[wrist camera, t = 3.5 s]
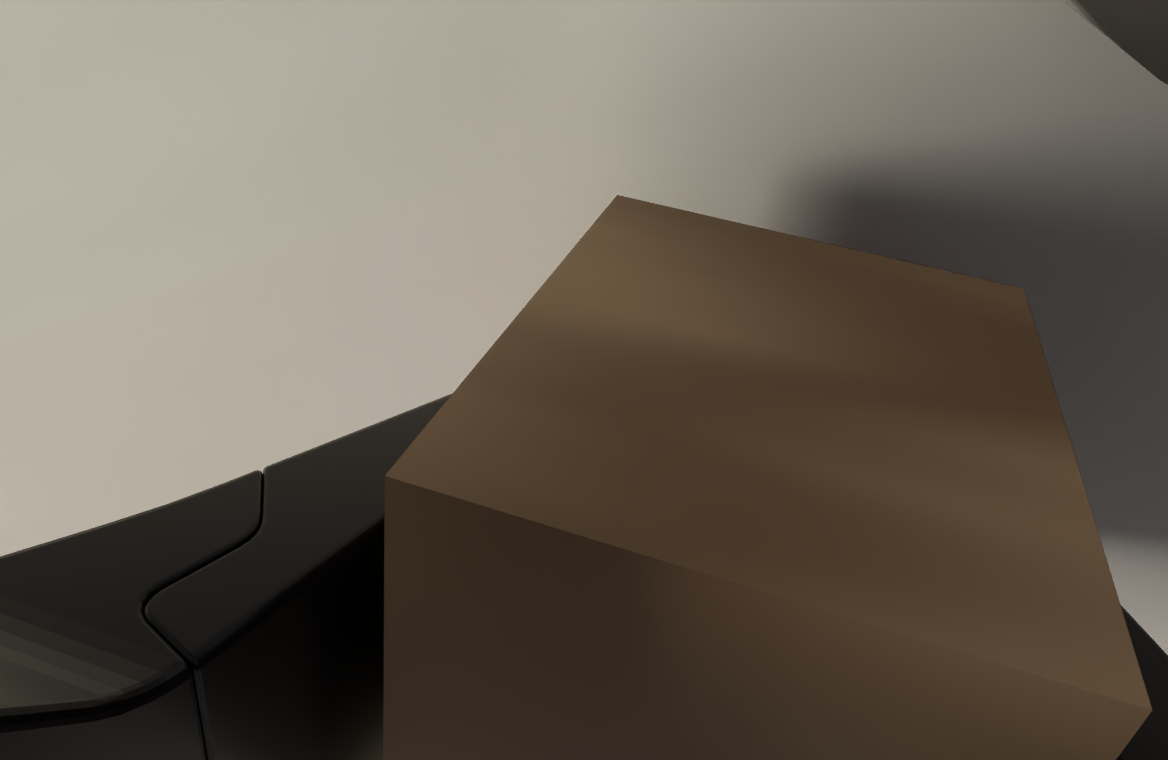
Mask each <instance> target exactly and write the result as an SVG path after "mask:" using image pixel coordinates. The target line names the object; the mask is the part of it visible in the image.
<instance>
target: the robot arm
mask: <svg viewBox="0 0 1168 760" xmlns="http://www.w3.org/2000/svg"><path fill="white" fill-rule="evenodd" d="M451 395H452V394H450V395H447V396H445V397H442V398H440V399H437V400H435V401H432V402H430V403H427V404H425V405H422V406H419V407H417V408H414V409H412V410H409V411H407V412H404V413H402V414H399V415H397V416H394V417H392V418H389V419H386V420H384V421H381V422H379V423H376V424H374V425H371V426H369V427H366V428H364V429H361V430H359V431H356V432H353V433H351V434H348V435H346V436H343V437H341V438H338V439H336V440H333V441H331V442H328V443H325V444H323V445H320V446H318V447H315V448H313V449H310V450H308V451H305V452H303V453H300V454H297V455H295V456H292V457H290V458H287V459H285V460H282V461H280V462H277V463H275V464H272V465H269V466H267V467H265V468H264V470H263V474H262V472H261V471H258V470H257V471H254V472H251V473H249V474H246V475H243V476H241V477H238V478H236V479H233V480H231V481H228V482H226V483H223V484H220V485H218V486H215V487H212V488H210V489H207V490H204V491H202V492H199V493H196V494H193V495H191V496H188V497H185V498H183V499H180V500H177V501H174V502H172V503H169V504H166V505H163V506H160V507H157V508H154V509H151V510H148V511H145V512H142V513H139V514H136V515H133V516H129V517H126V518H123V519H120V520H117V521H114V522H111V523H108V524H105V525H102V526H99V527H95V528H92V529H89V530H86V531H82V532H79V533H76V534H73V535H69V536H66V537H63V538H60V539H56V540H53V541H50V542H47V543H43V544H40V545H37V546H34V547H30V548H27V549H24V550H21V551H17V552H14V553H11V554H8V555H4V556H1V557H0V760H383V703H384V520H385V475H386V474H387V472H388V471H389V470H390V469H391V468H392V466H393V465H394V464H395V463H396V462H397V460H398V459H399V458H400V457H401V456H402V454H403V453H404V452H405V451H406V450H407V448H408V447H409V446H410V445H411V443H412V442H413V441H414V440H415V439H416V437H417V436H418V435H419V434H420V433H421V431H422V430H423V429H424V428H425V427H426V425H427V424H428V423H429V422H430V421H431V419H432V418H433V417H434V416H435V415H436V413H437V412H438V411H439V410H440V408H441V407H442V406H443V405H444V404H445V402H446V401H447V400H448V399H449V398H450V396H451ZM1120 606H1121V605H1120ZM1121 609H1122V612H1123V615H1124V619H1125V622H1126V625H1127V629H1128V632H1129V635H1130V638H1131V642H1132V645H1133V648H1134V651H1135V655H1136V658H1137V661H1138V665H1139V668H1140V671H1141V674H1142V678H1143V681H1144V684H1145V688H1146V691H1147V694H1148V697H1149V701H1150V704H1151V707H1152V712H1151V713H1150V714H1149V716H1148V717H1147V718H1146V720H1145V721H1144V722H1143V724H1142V725H1141V726H1140V728H1139V729H1138V731H1137V732H1136V733H1135V735H1134V736H1133V737H1132V739H1131V740H1130V741H1129V743H1128V744H1127V745H1126V747H1125V748H1124V750H1123V751H1122V752H1121V754H1120V755H1119V756H1118V758H1117V759H1116V760H1168V655H1167V654H1166V653H1165V652H1164V651H1163V650H1162V649H1161V648H1160V647H1159V645H1158V644H1157V643H1156V642H1155V641H1154V640H1153V639H1152V638H1151V637H1150V636H1149V635H1148V634H1147V633H1146V632H1145V630H1144V629H1143V628H1142V627H1141V626H1140V625H1139V624H1138V623H1137V622H1136V621H1135V620H1134V619H1133V618H1132V616H1131V615H1130V614H1129V613H1128V612H1127V611H1126V610H1125V609H1124V608H1123V607H1122V606H1121Z"/></svg>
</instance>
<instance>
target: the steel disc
mask: <svg viewBox="0 0 1168 760" xmlns="http://www.w3.org/2000/svg"><path fill="white" fill-rule="evenodd" d="M1063 1H1064V2H1065V3H1067V4H1068V5H1069V6H1070V7H1071V8H1073V9H1074V10H1075V11H1076V12H1077V13H1078V14H1080V15H1081V16H1082V17H1083V18H1084V19H1086V20H1087V21H1088V22H1089V23H1091V24H1092V25H1093V26H1094V27H1096V28H1097V29H1098V30H1099V31H1100V32H1102V33H1103V34H1104V35H1105V36H1107V37H1108V38H1109V39H1110V40H1112V41H1113V42H1114V43H1115V44H1116V45H1118V46H1119V47H1120V48H1121V49H1123V50H1124V51H1125V52H1126V53H1128V54H1129V55H1130V56H1131V57H1132V58H1134V59H1135V60H1136V61H1137V62H1139V63H1140V64H1141V65H1142V66H1144V67H1145V68H1146V69H1147V70H1148V71H1150V72H1151V73H1152V74H1153V75H1155V76H1156V77H1157V78H1158V79H1160V80H1161V81H1163V82H1164V83H1166V84H1168V0H1063Z"/></svg>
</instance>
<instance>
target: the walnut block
mask: <svg viewBox="0 0 1168 760" xmlns="http://www.w3.org/2000/svg"><path fill="white" fill-rule="evenodd" d="M1151 712H1152V707H1151V704H1150V701H1149V697H1148V694H1147V691H1146V688H1145V684H1144V681H1143V678H1142V674H1141V671H1140V668H1139V665H1138V661H1137V658H1136V655H1135V651H1134V648H1133V645H1132V642H1131V638H1130V635H1129V632H1128V629H1127V625H1126V622H1125V619H1124V615H1123V612H1122V609H1121V606H1120V602H1119V599H1118V596H1117V592H1116V589H1115V586H1114V583H1113V579H1112V576H1111V573H1110V570H1109V566H1108V563H1107V560H1106V556H1105V553H1104V550H1103V547H1102V543H1101V540H1100V537H1099V533H1098V530H1097V527H1096V524H1095V520H1094V517H1093V514H1092V511H1091V507H1090V504H1089V501H1088V497H1087V494H1086V491H1085V488H1084V484H1083V481H1082V478H1081V474H1080V471H1079V468H1078V465H1077V461H1076V458H1075V455H1074V452H1073V448H1072V445H1071V442H1070V438H1069V435H1068V432H1067V429H1066V425H1065V422H1064V419H1063V415H1062V412H1061V409H1060V406H1059V402H1058V399H1057V396H1056V393H1055V389H1054V386H1053V383H1052V379H1051V376H1050V373H1049V370H1048V366H1047V363H1046V360H1045V356H1044V353H1043V350H1042V347H1041V343H1040V340H1039V337H1038V334H1037V330H1036V327H1035V324H1034V320H1033V317H1032V314H1031V311H1030V307H1029V304H1028V301H1027V297H1026V294H1025V291H1024V288H1019V287H1015V286H1011V285H1006V284H1002V283H997V282H993V281H989V280H984V279H980V278H976V277H971V276H967V275H963V274H958V273H954V272H950V271H945V270H941V269H937V268H932V267H928V266H924V265H919V264H915V263H910V262H906V261H902V260H897V259H893V258H889V257H884V256H880V255H876V254H871V253H867V252H863V251H858V250H854V249H850V248H845V247H841V246H836V245H832V244H828V243H823V242H819V241H815V240H810V239H806V238H802V237H797V236H793V235H789V234H784V233H780V232H776V231H771V230H767V229H763V228H758V227H754V226H749V225H745V224H741V223H736V222H732V221H728V220H723V219H719V218H715V217H710V216H706V215H702V214H697V213H693V212H689V211H684V210H680V209H676V208H671V207H667V206H662V205H658V204H654V203H649V202H645V201H641V200H636V199H632V198H628V197H623V196H619V195H617V196H616V197H615V198H614V200H613V201H612V202H611V203H610V204H609V206H608V207H607V208H606V209H605V211H604V212H603V213H602V214H601V215H600V217H599V218H598V219H597V220H596V221H595V223H594V224H593V225H592V226H591V227H590V229H589V230H588V231H587V232H586V233H585V235H584V236H583V237H582V238H581V239H580V241H579V242H578V243H577V244H576V246H575V247H574V248H573V249H572V250H571V252H570V253H569V254H568V255H567V256H566V258H565V259H564V260H563V261H562V262H561V264H560V265H559V266H558V267H557V268H556V270H555V271H554V272H553V273H552V274H551V276H550V277H549V278H548V279H547V281H546V282H545V283H544V284H543V285H542V287H541V288H540V289H539V290H538V291H537V293H536V294H535V295H534V296H533V297H532V299H531V300H530V301H529V302H528V303H527V305H526V306H525V307H524V308H523V309H522V311H521V312H520V313H519V314H518V316H517V317H516V318H515V319H514V320H513V322H512V323H511V324H510V325H509V326H508V328H507V329H506V330H505V331H504V332H503V334H502V335H501V336H500V337H499V338H498V340H497V341H496V342H495V343H494V345H493V346H492V347H491V348H490V349H489V351H488V352H487V353H486V354H485V355H484V357H483V358H482V359H481V360H480V361H479V363H478V364H477V365H476V366H475V367H474V369H473V370H472V371H471V372H470V373H469V375H468V376H467V377H466V378H465V380H464V381H463V382H462V383H461V384H460V386H459V387H458V388H457V389H456V390H455V392H454V393H453V394H452V395H451V396H450V398H449V399H448V400H447V401H446V402H445V404H444V405H443V406H442V407H441V408H440V410H439V411H438V412H437V413H436V415H435V416H434V417H433V418H432V419H431V421H430V422H429V423H428V424H427V425H426V427H425V428H424V429H423V430H422V431H421V433H420V434H419V435H418V436H417V437H416V439H415V440H414V441H413V442H412V443H411V445H410V446H409V447H408V448H407V450H406V451H405V452H404V453H403V454H402V456H401V457H400V458H399V459H398V460H397V462H396V463H395V464H394V465H393V466H392V468H391V469H390V470H389V471H388V472H387V474H386V475H385V520H384V703H383V760H1116V759H1117V758H1118V756H1119V755H1120V754H1121V752H1122V751H1123V750H1124V748H1125V747H1126V745H1127V744H1128V743H1129V741H1130V740H1131V739H1132V737H1133V736H1134V735H1135V733H1136V732H1137V731H1138V729H1139V728H1140V726H1141V725H1142V724H1143V722H1144V721H1145V720H1146V718H1147V717H1148V716H1149V714H1150V713H1151Z"/></svg>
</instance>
